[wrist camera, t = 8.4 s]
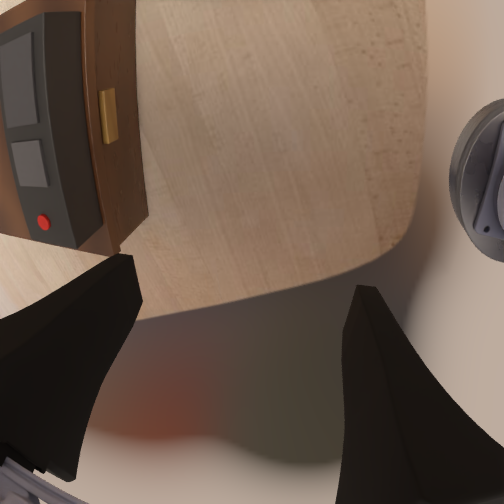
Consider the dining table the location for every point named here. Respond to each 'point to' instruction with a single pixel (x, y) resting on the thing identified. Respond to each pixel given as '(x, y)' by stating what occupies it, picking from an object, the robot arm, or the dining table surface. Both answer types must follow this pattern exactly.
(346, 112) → the dining table surface
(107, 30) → the box
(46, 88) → the remote
